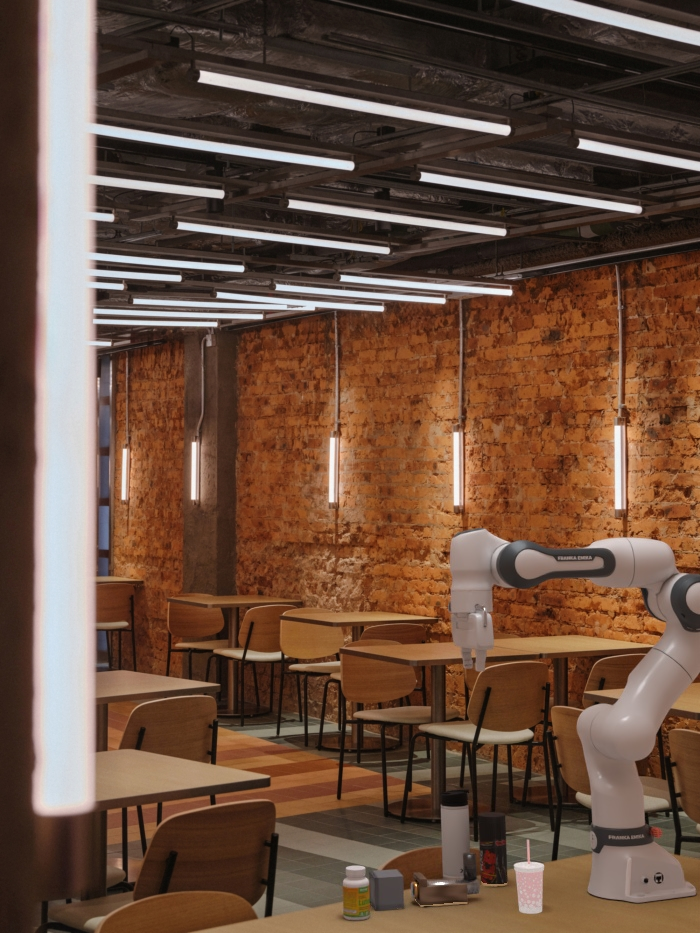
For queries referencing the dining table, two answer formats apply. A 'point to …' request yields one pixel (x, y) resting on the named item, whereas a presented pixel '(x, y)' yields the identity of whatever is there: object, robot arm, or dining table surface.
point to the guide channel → (439, 891)
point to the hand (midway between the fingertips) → (474, 669)
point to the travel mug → (454, 831)
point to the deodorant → (493, 848)
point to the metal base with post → (469, 879)
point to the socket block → (386, 889)
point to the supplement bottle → (356, 894)
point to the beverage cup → (529, 885)
